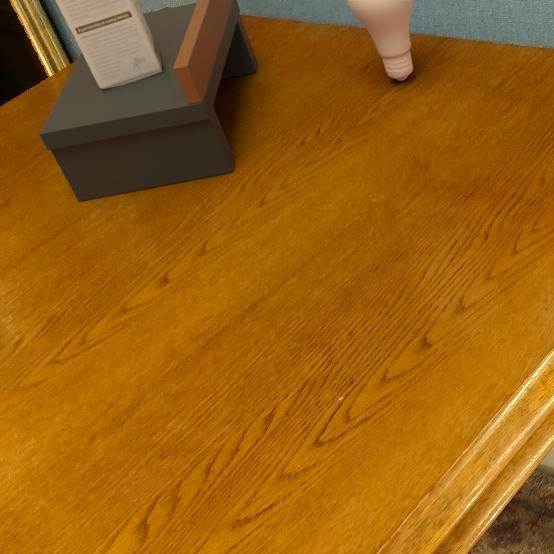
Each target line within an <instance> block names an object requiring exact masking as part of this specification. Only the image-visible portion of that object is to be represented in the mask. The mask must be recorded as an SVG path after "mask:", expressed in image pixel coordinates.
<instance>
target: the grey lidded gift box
mask: <svg viewBox="0 0 554 554" xmlns="http://www.w3.org/2000/svg"><path fill="white" fill-rule="evenodd" d="M240 12H241V8H240V5H239V4H238V1H237V0H197V1H196V2H192V3H188V4H184V5H179V6H178V5H177V6H173V7H168V8H163V9H158V10H153V11H148V12H142V14H143V16H144V18H145V20H146V22H147V25H148V27H149V29H150V31H151V34H152V36H153V38H154V40H155V42H156V45H157V47H158V51H159V55H160V59H161V66H162V72H160V73H157V74H154V75H151V76H148V77H145V78H142V79H139V80H136V81H133V82H129V83H126V84H123V85H119V86H115V87H111V88H106V89H100V88H99V86H98V84H97V82H96V80H95V78H94V76H93V75H92V73H91V71H90V69H89V67H88V65H87V63H86V61H85V59H84V57H83V55H82V53H81V52H80V54H79V55H78V58H77V59H76V62H75V64H74V65H73V67H72V69H71V71H70V73H69V75H68V77H67V79H66V81H65V83H64V85H63V86H62V88H61V90H60V93H59V94H58V96H57V98H56V100H55V102H54V104H53V106H52V108H51V110H50V112H49V114H48V116H47V118H46V120H45V122H44V124H43V125H42V127H41V129H40V131H39V133H38V134H39V137H40V138H41V141H42V143H43V144H44V146H45V148H46V150H47V151H50V152H51V154H52V155H53V157H54V159H55V161H56V163H57V165H58V166H59V169H60V170H61V172H62V173H63V176H64V177H65V179H66V181H67V183H68V185H69V187H70V188H71V190H72V192H73V194H74V195H75V198H76V200H77V201H78V202H84V201H88V200H89V201H90V200H94V199H99V198H104V197H110V196H116V195H121V194H125V193H126V194H127V193H131V192H137V191H141V190H148V189H152V188H157V187H164V186H168V185H174V184H179V183H185V182H189V181H195V180H199V179H205V178H206V179H207V178H210V177H215V176H222V175H226V174H232V173H234V169H235V165H236V159H235V157H234V154H233V152H232V148H231V146H230V144H229V142H228V139H227V136H226V134H225V132H224V130H223V126H222V124H221V122H220V119H219V117H218V114H217V112H216V109H215V107H214V104H215V101H216V97H217V94H218V91H219V86H220V83H221V80H224V79H230V78H235V77H240V76H244V75H250V74H255V73H257V71H258V70H257V69H258V66H259V63H258V60H257V57H256V54H255V52H254V48H253V46H252V43H251V41H250V38H249V35H248V31H247V30H246V26H245V23H244V21H243V18H242V15H241V13H240Z"/></svg>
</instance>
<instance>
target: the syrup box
mask: <svg viewBox="0 0 554 554" xmlns="http://www.w3.org/2000/svg"><path fill="white" fill-rule="evenodd" d="M54 1H55V3H56V5H57V8H58V9H59V10H60V13H61V15H62V17H63V19H64V22H65V23H66V25H67V27H68V29H69V31H70V33H71V35H72V37H73V39H74V41H75V42H76V45H77V47H78V49H79V51H80V54H81V53H82V55H83V57H84V59H85V61H86V63H87V65H88V67H89V69H90V71H91V73H92V75H93V76H94V78H95V80H96V82H97V84H98V86H99V88H100V89H106V88H111V87H115V86H119V85H123V84H126V83H129V82H133V81H136V80H139V79H142V78H145V77H148V76H151V75H154V74H157V73H160V72H162V66H161V59H160V55H159V51H158V47H157V45H156V42H155V40H154V38H153V36H152V34H151V31H150V29H149V27H148V25H147V22H146V20H145V18H144V16H143V14H142V13H143V11H142V9H141V7H140V4H139V3H138V0H54Z"/></svg>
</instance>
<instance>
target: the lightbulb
mask: <svg viewBox="0 0 554 554" xmlns="http://www.w3.org/2000/svg"><path fill="white" fill-rule="evenodd" d="M414 1H415V0H346V3H347V5H348V7H349V9H350V11H351V13H352V14H353V15H354V16H355V18H356V19H357V20H358V21H359V22H360V23H361V24H362V26H363V27H364V28H365V29H366V30H367V32H368V33H369V35H370V36H371V39H372V40H373V43H374V45H375V48H376V51H377V54H378V55H379V56H380V57H381V59H382V63H383V66H384V69H385V72H386V75H387V76H388V77H389V78H391V79H394V80H396V81H398V82H402V81H405V80H406V79H408V76H409V75H410V74H412V72H413V70H414V66H413V58H412V54H411V48H412V43H411V37H410V19H411V15H412V10H413V6H414Z"/></svg>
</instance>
